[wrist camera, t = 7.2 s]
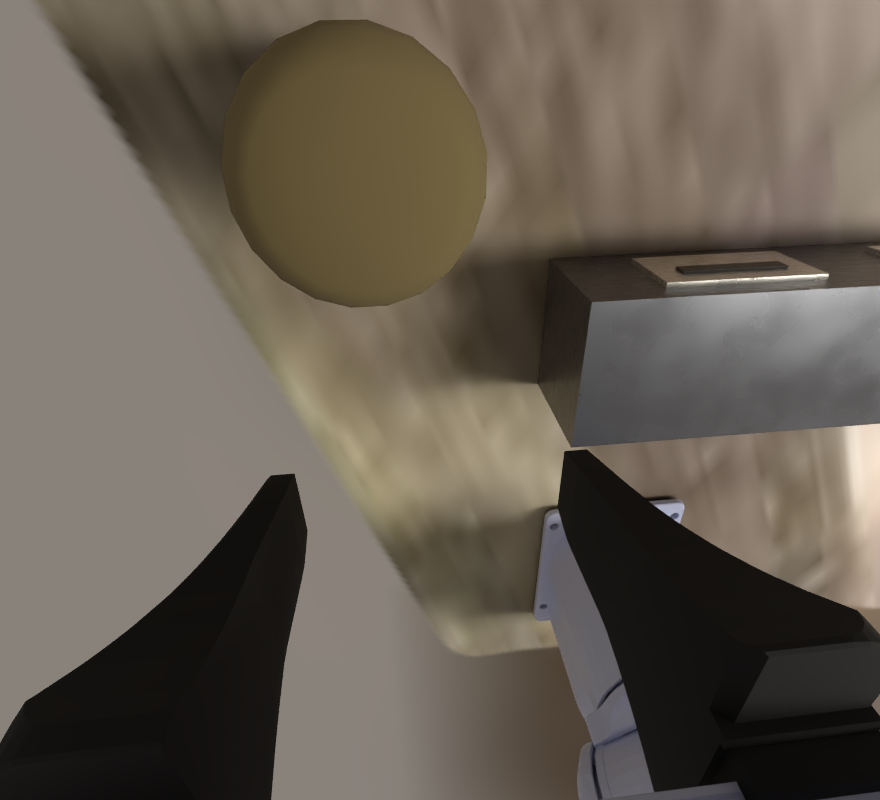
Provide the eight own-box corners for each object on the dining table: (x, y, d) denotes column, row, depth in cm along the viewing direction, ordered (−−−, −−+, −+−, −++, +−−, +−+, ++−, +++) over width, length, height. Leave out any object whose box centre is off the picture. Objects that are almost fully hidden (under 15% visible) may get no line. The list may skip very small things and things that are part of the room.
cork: (246, 142, 18) (100, 203, 9) (355, -15, 16) (321, -155, 7) (378, 257, 20) (376, 402, 11) (487, 134, 19) (594, 184, 9)
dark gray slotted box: (963, 355, 26) (1077, 408, 22) (538, 384, 24) (571, 447, 20) (1037, 227, 23) (1189, 260, 18) (550, 251, 21) (593, 293, 17)
